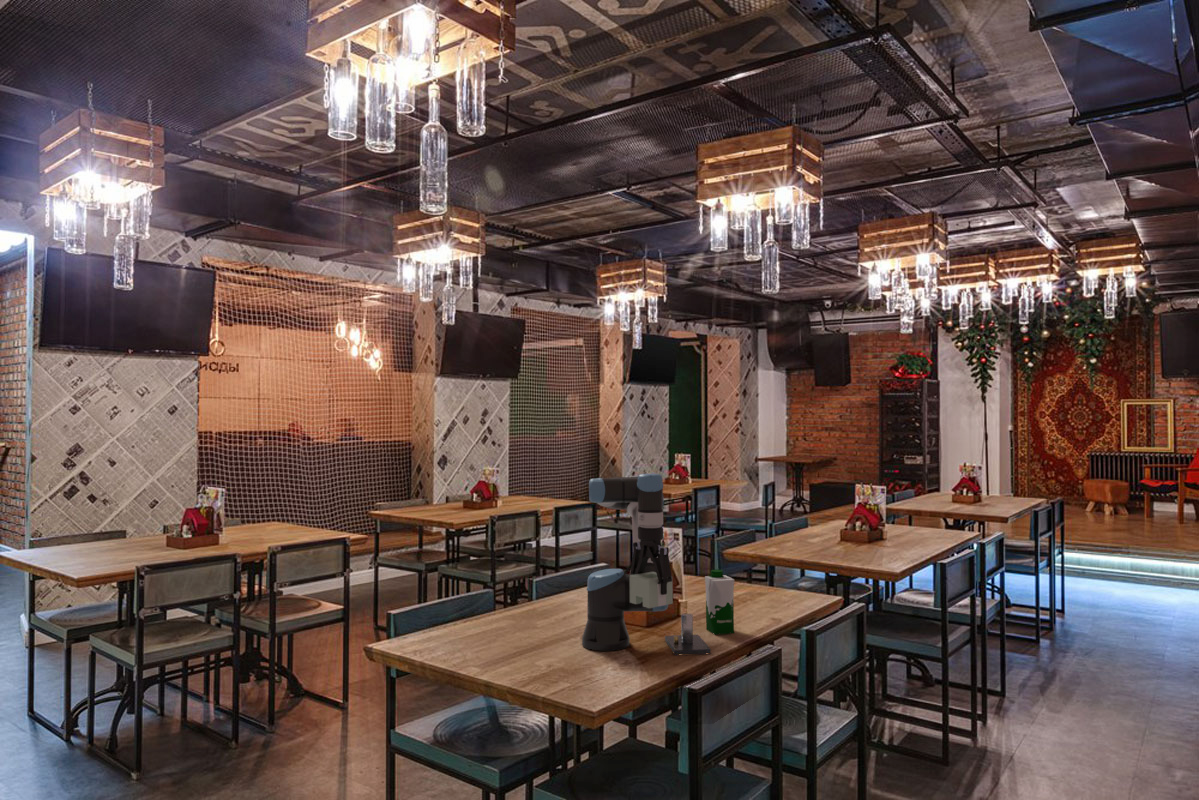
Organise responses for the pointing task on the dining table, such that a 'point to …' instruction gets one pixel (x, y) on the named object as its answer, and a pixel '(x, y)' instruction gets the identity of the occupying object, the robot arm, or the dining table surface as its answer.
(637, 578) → the notched green box
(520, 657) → the dining table surface
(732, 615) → the milk carton
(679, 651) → the base plate
